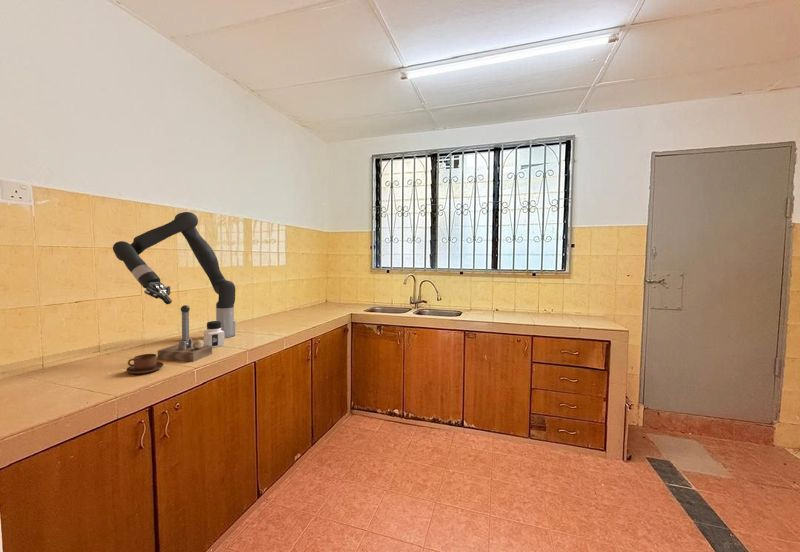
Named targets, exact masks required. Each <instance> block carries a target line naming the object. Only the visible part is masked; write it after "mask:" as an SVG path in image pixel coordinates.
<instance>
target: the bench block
mask: <svg viewBox="0 0 800 552" xmlns="http://www.w3.org/2000/svg"><path fill="white" fill-rule="evenodd" d="M189 343H190V346H189V347H187V348H186V341H182V340H178V343H176V344H174V345H170V346H167V347H165V348H161V349H158V350H157V360H166V361H167V360H168V361H177V362H178V361H180V362H192V363H193V362H196V361H199V360H201V359H203V358H206V357H208V356H210V355H211V356H212V354H213V348H212V346H207V345H204V340H202V339H200V338H199V339H195V340H194V341H193V339H192V338H189Z"/></svg>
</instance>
